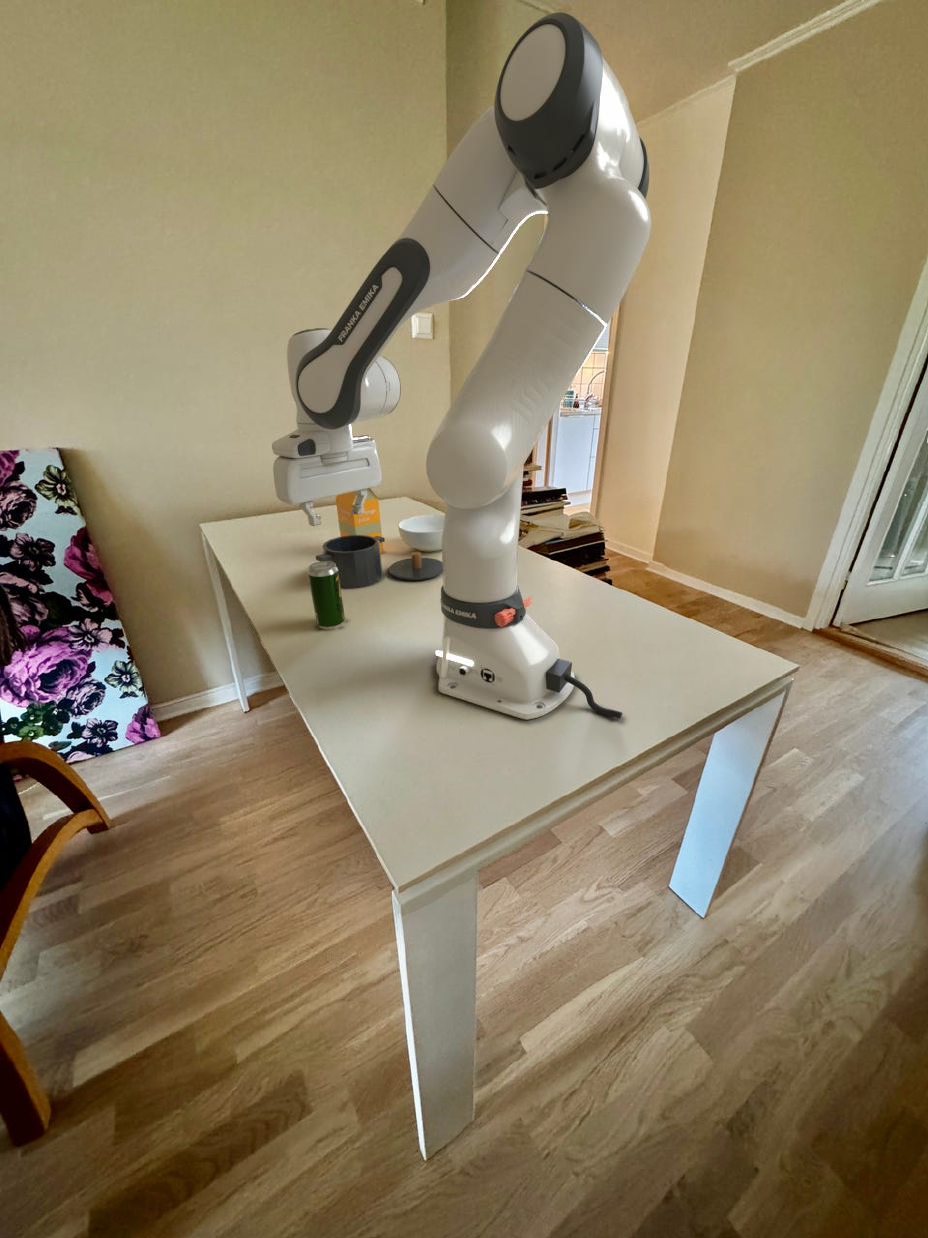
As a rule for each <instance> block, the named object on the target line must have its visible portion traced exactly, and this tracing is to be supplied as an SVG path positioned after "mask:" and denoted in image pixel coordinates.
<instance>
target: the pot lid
mask: <svg viewBox="0 0 928 1238" xmlns="http://www.w3.org/2000/svg"><path fill="white" fill-rule="evenodd" d="M410 556H411V557H409V558H404V559H400V560H398V561H395V562H393V563H391V564H390V566H389V567H388V572H389V574H390V576H393V577H394V578H397V579H399V580H400V579H401V580H406V581H407V580H408V581H416V580H417V581H419V580H427V579H431V578H435V577H437V576H440V575H441V574H443V564H442V560H440V559H436V558H432V557H422V553H421V552H420V551H413V552H411V553H410Z"/></svg>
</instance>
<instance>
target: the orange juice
mask: <svg viewBox="0 0 928 1238" xmlns="http://www.w3.org/2000/svg"><path fill="white" fill-rule="evenodd" d="M356 497H357V494H355V492H350V493H345V494H340V495H336V497H335V503H336V504H335V505H336V512H337V520H338V527H339V528H338V529H339V533H340V537H342V536H348V535H366V536H372V537H376V536H380V537H383V535H382V522H381V514H380V503H379V498H378V497H377V494H375V492H374V491H373V490H372V488H368V489H367V497H366V500H365V502H364V504H363V507H364V513H363V514H359V515H356V514H353V512H352V510H353V509H352V504H355V501H356ZM380 553H381V554H383V553H384V546H383V542H382V543H380Z"/></svg>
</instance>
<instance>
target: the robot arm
mask: <svg viewBox="0 0 928 1238" xmlns="http://www.w3.org/2000/svg"><path fill="white" fill-rule="evenodd" d="M647 152H648V151H647V147H646V145H645V143H644V141H643V138H642V137H641V136H640V135H639V131H638V128H637V124H636V122H635V119H634V117H633V114H632V111H631V109H630V105H629V100H628V97H627V95H626V93H625V91H624V89H623V87H622V85H621V83H620V81H619V80H618V78H617V76H616V74H615V73H614V71H613V70H612V68H611V66H610V65H609V64H608V62H607V61H606V59H605V58H604V56H603V53H602V49H601V46H600V44H599V42H598V40H597V39H596V38H595V36H594V35H593V34H592V33H591V31H590V30H589V29H588V28H587V27H586V26H585V25H584V23H582V22H581V21H580V20H578V19H577V18H576V17H575V16H573V15H571V14H569V13H567V12H552V13H549V14H547V15H545V16H543V17H541V18H540V19H538V20H536V21H535V22H534V23H533V24H532V25H531V26H530V27H529V28H527V30H525V32H524V33H523V34H522V35H521V36H520V37H519V39H517V41H516V42H515V44H514V45H513V47H512V49H511V51H509V54H508V56H507V57H506V59H505V62H504V64H503V66H502V69H501V72H500V75H499V78H498V82H497V85H496V89H495V95H494V103H493V105H491V106H489V107H487V108H486V109H485V110H484V111H483V112H481V114H480V115H479V116H478V117H477V119H476V120H475V121H474V122H473V124H472V125H471V126H470V127H469V128H468V130H467V131H466V133H465V134H464V136H462V138H461V139H460V141H459V142H458V144H457V145H456V147H455V148H454V149H453V151H452V152H451V153H450V155H449V156H448V158H447V160H446V161H445V163H444V164H443V166H442V167H441V169H440V171H439V173H438V174H437V176H436V177H435V180H434V182H433V184H432V185H431V186H430V188H429V190H428V192H427V194H426V195H425V197H424V199H423V201H422V202H421V204H420V206H419V207H418V209H417V210H416V212H415V213H414V215H413V216H412V218H411V220H410V221H409V223H408V224H407V226H405V228H404V230H402V233H400V235H399V236H397V239H396V240H395V241H394V242H393V243H392V244H391V245H390V246H389V248H388V249H387V250H386V252H385V253H384V254H383V255H382V256H381V257H380V259H379V260H378V261H377V262H376V264H375V265H374V267H373V268H372V269H371V271H370V272H369V273H368V275H367V277H366V278H365V279H364V281H363V283H362V284H361V285H360V287H359V289H358V290H357V291H356V293H355V295H354V296H353V297H352V299H351V301H350V302H349V304H348V305H347V307H345V309H344V311H343V313H342V314H341V316H340V317H339V319H338V321H337V322H336V323H335V325H334V327H332V329H330V328H325V327H324V328H323V327H317V328H311V329H309V328H308V329H304V330H301V331H298V332H296V333H294V334H292V336H291V337H290V338H289V339H288V342H287V346H286V347H287V348H286V361H287V362H286V363H287V372H288V380H289V381H288V382H289V386H290V392H291V396H292V398H293V401H294V403H295V407H296V417H295V422H296V423H295V424H296V428H297V429H295V430H293V431H292V432H289V433H288V434H285V435H284V436H282V437H280V438H278V439H276V440H274V441H273V442H272V443H271V450H272V453H273V454H274V455H275V456H277V457H276V458H275V459H274V462H273V466H272V472H273V473H272V475H273V483H274V488H275V495H276V498H277V499H278V500H279V501H280V502H281V503H283V504H286V505H290V506H294V505H295V506H296V505H299V508H300V509H301V510H302V512H304V514H305V515H306V516H307V520H308V524H309V525H310V526H311V527H317V526H320V525H322V521H321V519H322V518H321V514H317V513H315V512H314V510H313V509H312V508H313V507H314V502H313V501H317V500H322V499H327V498H331V497H335V496H336V497H337V495H340V494H345V493H350V492H355V494H357V497H356V501H355V504H352V509H353V510H352V512H353V514H356V515H359V514H363V513H364V507H363V504H364V502H365V500H366V497H367V489H368V488H370V489H373V488H377V487H379V486H380V485H381V484H382V481H383V475H382V468H381V464H380V463H381V462H380V460H379V455H378V451H377V450H378V449H377V442H376V441H375V440H374V439H373V438H372V437H370V436H369V435H368V434H363V435H362V434H361V435H354V436H353V433H352V431H353V430H352V424H357V423H361V422H368V421H371V420H377V419H380V418H384V417H386V416H388V415H390V414H391V413H392V412H394V410H395V409H396V408H397V406H398V404H399V403H400V399H401V393H402V385H401V379H400V375H399V372H398V371H397V369H396V367H395V365H394V364H393V363H392V361H390V360H389V359H388V358H387V357H385V356H382V355H381V354H382V353H383V351H384V350H385V349H386V347H387V346H388V344H389V343H390V341H391V340H392V339H393V338H394V336H395V334H396V333H397V332H398V331H399V330H400V328H401V327H402V326H403V324H405V323H406V322H407V321H408V320H409V319H410V318H412V317H414V316H415V315H416V314H418V313H420V312H421V311H423V310H426V309H429V308H431V307H434V306H436V305H440V304H444V303H448V302H451V301H455V300H459V299H461V298H464V297H466V296H467V295H468V294H469V293H470V292H472V290H473V289H474V288H476V287H477V285H479V284H480V282H481V281H482V280H483V279H484V278H485V277H486V276H487V274H488V273H489V272H490V270H491V269H492V268H493V266H494V265H495V264H496V262H497V260H498V259H499V258H500V256H501V254H502V253H503V252H504V250H505V249H506V247H507V246H508V244H509V243H510V241H511V239H512V238H513V236H514V234H515V233H516V232H517V231H518V229H519V227H521V225H522V224H523V223H524V222H525V221H526V220H527V219H528V218H529V217H531V216H534V215H537V214H546V224H545V227H544V231H543V233H542V235H541V238H540V240H539V242H538V244H537V246H536V248H535V250H534V252H533V254H532V255H531V257H530V260H529V261H528V263H527V265H526V267H525V269H524V271H523V272H522V274H521V277H520V279H519V281H518V283H517V285H516V287H515V289H514V290H513V293H512V295H511V296H510V298H509V301H508V302H507V305H506V307H505V308H504V310H503V312H502V313H501V314H502V315H501V316H500V318H499V320H498V322H497V324H496V326H495V328H494V330H493V332H492V334H491V336H490V338H489V340H488V342H487V344H486V346H485V347H484V349H483V350H482V352H481V354H480V355H479V357H478V358H477V360H476V361H475V363H474V365H473V367H472V368H471V370H470V372H469V373H468V375H467V377H466V378H465V380H464V382H463V384H462V385H461V387H460V388H459V390H458V392H457V394H456V396H455V398H454V399H453V401H452V403H451V405H450V406H449V408H448V410H446V413H445V415H444V417H443V418H442V420H441V422H440V424H439V426H438V428H437V429H436V431H435V433H434V435H433V437H432V440H431V441H430V443H429V446H428V450H427V455H426V458H425V459H426V461H425V469H426V475H427V479H428V482H429V484H430V486H431V488H432V489H433V492H434V493H435V494H436V495H437V496H438V497H439V498H440V499H441V500H442V501H443V502H445V510H444V515H445V518H444V527H443V532H442V550H441V562H442V564H443V573H442V583H443V584H442V585H441V587H440V599H439V601H440V610H441V613H442V615H443V624H442V635H441V645H440V650H436V651H435V655H436V656H438V659H437V662H436V665H435V666H436V667H435V669H436V673H437V675H438V678H439V679H438V685H437V686H438V687H437V689H438V692H439V693H441V694H444V695H447V696H450V697H453V698H456V699H459V700H462V701H466V702H469V703H472V704H475V705H478V706H481V707H484V708H487V709H490V710H493V711H497V712H500V713H503V714H505V715H509V716H512V717H514V718H515V717H516V718H518V719H522V720H526V721H527V720H533V719H536V718H540V717H542V716H544V715H547V714H548V713H550V712H552V711H554V710H555V709H556V708H558V707H559V706H560V705H562V703H563V702H564V701H565V700H566V699H567V698H568V697H569V696H570V694H571V693H572V692H573V690H574V687H575V688H577V689H579V691H581V692H582V693H583V694H584V695H585V698H586V702H587V704H588V706H589V708H591V709H592V710H593V711H594V712H596V713H598V714H600V715H603V716H607V717H613V718H616V719H619V720H621V719H622V717H623V712H622V711H619V710H615V709H611V708H606V707H604V706H601V705H599V704H597V702H595V699H594V696H593V693H592V691H591V689H590V688H588V687H589V686H587V685H586V684H585V683H583V682H582V681H580V680H578V679H577V678H575V672H573V670H572V668H573V662H572V661H569V660H565V659H562V658H561V654H560V648H559V647H558V644H557V643H556V642H555V641H554V640H553V639H552V638H551V637H550V636H549V635H548V634H547V633H546V632H545V631H544V630H543V628H541V627H540V626H539V624H537V622H535V620H533V618H532V617H530V615H529V614H528V613H527V609H526V608H528V607H529V606H531V604H532V603H533V602H532V601H531V600H532V599H533V597H532V596H528V597H527V598H525V599H523V596H522V592H521V591H520V588H519V585H518V560H519V536H520V523H521V510H522V495H523V483H524V482H523V481H524V480H523V479H524V465H525V463H526V461H527V459H528V458H529V456H530V455H531V453H532V451H533V449H534V448H535V446H536V444H537V443H538V441H539V439H540V438H541V436H542V435H543V433H544V431H545V429H546V428H547V426H548V424H549V422H550V421H551V419H552V418H553V416H554V414H555V412H556V411H557V409H558V408H559V405H560V403H561V402H562V401H563V398H564V397H565V395H566V394H567V392H568V391H569V388H570V387H571V386H572V384H573V382H574V380H575V379H576V377H577V376H578V374H579V372H580V371H581V369H582V367H583V366H584V364H585V362H586V361H587V359H588V358H589V356H590V355H591V353H592V351H593V349H594V348H595V346H596V345H597V343H598V341H599V340H600V338H601V336H602V334H603V333H604V331H605V330H606V327H607V326H608V325H609V323H610V321H611V319H612V318H613V316H614V315H615V313H616V311H617V309H618V307H619V306H620V304H621V302H622V300H623V298H624V297H625V295H626V292H627V290H628V288H629V286H630V284H631V282H632V280H633V278H634V276H635V273H636V271H637V269H638V267H639V265H640V262H641V260H642V258H643V255H644V253H645V250H646V249H647V245H648V243H649V240H650V236H651V232H652V224H653V223H652V222H653V221H652V215H651V210H650V207H649V205H648V202H647V201H646V200H647V199H646V198H647V196H648V191H649V186H650V165H649V164H650V163H649V157H648V153H647Z"/></svg>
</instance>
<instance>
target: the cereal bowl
mask: <svg viewBox="0 0 928 1238" xmlns="http://www.w3.org/2000/svg"><path fill="white" fill-rule="evenodd" d="M444 518H445V514H422V515H421V514H420V515H414V516H411V517H408V518H405V519H402V520H401V521H400V522H399V523H398V525H397V527H398V533H399V537H400V539H401V540H402V542H403V543H404V544H405V545H407V546H408V547H411V548H414V549H417V550H418V551H421V552H428V553H429V552H430V553H431V552H438V551H442V532H443V527H444Z"/></svg>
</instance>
